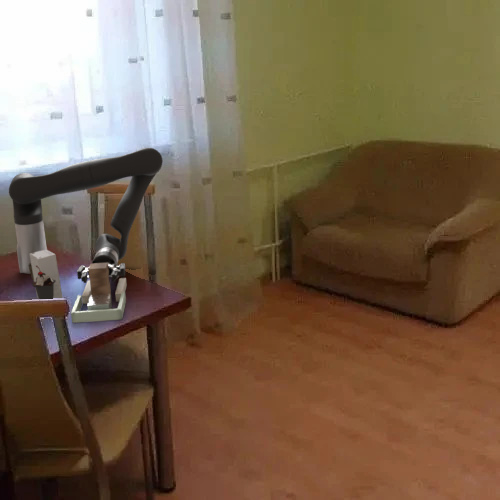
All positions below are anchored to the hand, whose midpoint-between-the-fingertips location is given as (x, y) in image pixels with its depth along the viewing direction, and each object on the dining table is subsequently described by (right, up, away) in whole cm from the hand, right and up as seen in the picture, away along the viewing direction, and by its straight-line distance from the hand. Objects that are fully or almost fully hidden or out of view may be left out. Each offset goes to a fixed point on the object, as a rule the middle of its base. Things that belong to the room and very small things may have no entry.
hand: (98, 279), depth 228 cm
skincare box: (-17, -7, +7) cm, 19 cm away
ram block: (+1, -7, +1) cm, 8 cm away
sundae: (-14, -10, -5) cm, 18 cm away
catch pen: (+1, -9, -5) cm, 11 cm away
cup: (-21, -3, +18) cm, 28 cm away
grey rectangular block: (+2, -10, -7) cm, 13 cm away
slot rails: (0, -5, +9) cm, 10 cm away
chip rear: (+1, -9, -3) cm, 10 cm away
